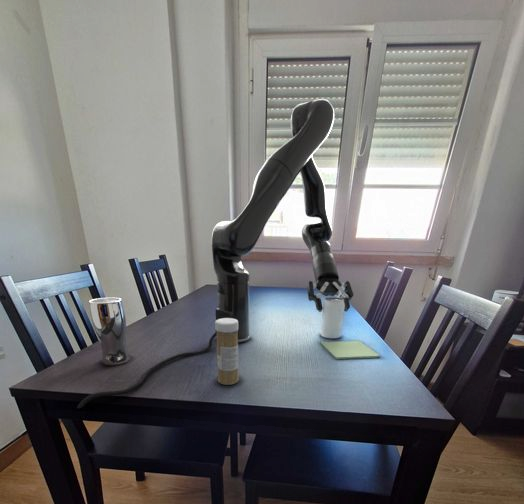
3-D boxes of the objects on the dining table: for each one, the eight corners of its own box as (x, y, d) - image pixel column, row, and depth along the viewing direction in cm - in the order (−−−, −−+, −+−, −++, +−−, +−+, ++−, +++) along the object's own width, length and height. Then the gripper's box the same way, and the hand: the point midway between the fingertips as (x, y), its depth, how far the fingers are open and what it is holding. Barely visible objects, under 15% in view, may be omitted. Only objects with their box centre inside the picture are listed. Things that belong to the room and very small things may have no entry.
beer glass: (96, 360, 69) (83, 300, 64) (125, 353, 74) (115, 296, 69) (107, 369, 65) (94, 304, 60) (136, 360, 70) (127, 300, 64)
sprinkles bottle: (219, 376, 62) (217, 317, 58) (240, 376, 62) (239, 317, 58) (216, 385, 58) (213, 323, 53) (238, 386, 58) (237, 323, 53)
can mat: (336, 359, 73) (336, 357, 73) (321, 343, 84) (321, 341, 84) (379, 357, 74) (380, 355, 74) (359, 342, 85) (359, 340, 85)
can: (319, 337, 89) (322, 300, 85) (321, 332, 95) (324, 296, 90) (340, 340, 87) (345, 301, 83) (341, 334, 93) (345, 297, 89)
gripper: (307, 261, 90) (315, 304, 84) (349, 261, 92) (360, 303, 86) (301, 276, 97) (308, 317, 91) (341, 276, 99) (350, 316, 92)
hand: (333, 310), depth 88 cm, fingers open, 8 cm apart
